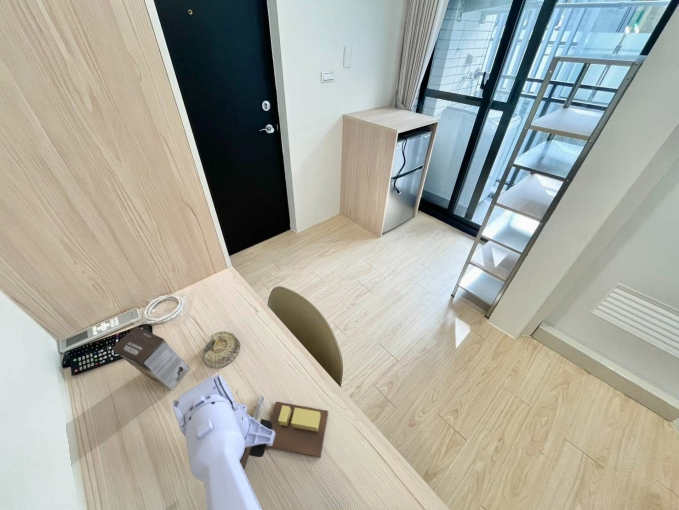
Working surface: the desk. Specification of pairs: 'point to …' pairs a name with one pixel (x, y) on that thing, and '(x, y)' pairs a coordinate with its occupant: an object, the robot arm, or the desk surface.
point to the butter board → (297, 433)
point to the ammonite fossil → (221, 350)
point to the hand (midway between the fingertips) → (245, 441)
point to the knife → (247, 449)
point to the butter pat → (284, 415)
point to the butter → (306, 419)
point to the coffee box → (152, 357)
